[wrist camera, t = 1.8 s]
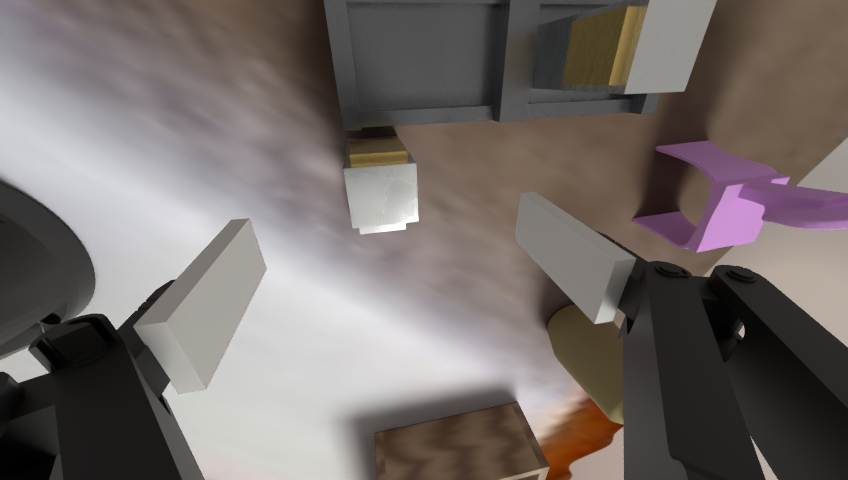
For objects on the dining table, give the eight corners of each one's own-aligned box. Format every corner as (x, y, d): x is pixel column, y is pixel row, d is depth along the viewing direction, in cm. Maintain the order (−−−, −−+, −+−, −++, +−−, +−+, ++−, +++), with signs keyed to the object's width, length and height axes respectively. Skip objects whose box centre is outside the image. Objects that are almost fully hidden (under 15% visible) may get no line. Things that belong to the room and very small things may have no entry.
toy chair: (622, 226, 34) (786, 318, 21) (646, 147, 30) (871, 201, 17) (684, 216, 35) (876, 298, 22) (716, 139, 31) (977, 184, 18)
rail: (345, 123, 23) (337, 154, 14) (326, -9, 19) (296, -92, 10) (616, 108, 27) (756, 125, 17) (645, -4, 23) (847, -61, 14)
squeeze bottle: (570, 346, 43) (692, 500, 27) (527, 336, 40) (636, 502, 24) (606, 303, 40) (766, 448, 24) (562, 290, 37) (711, 445, 21)
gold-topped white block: (402, 219, 28) (420, 274, 20) (360, 224, 27) (361, 282, 20) (396, 128, 24) (415, 152, 16) (346, 131, 23) (341, 157, 16)
